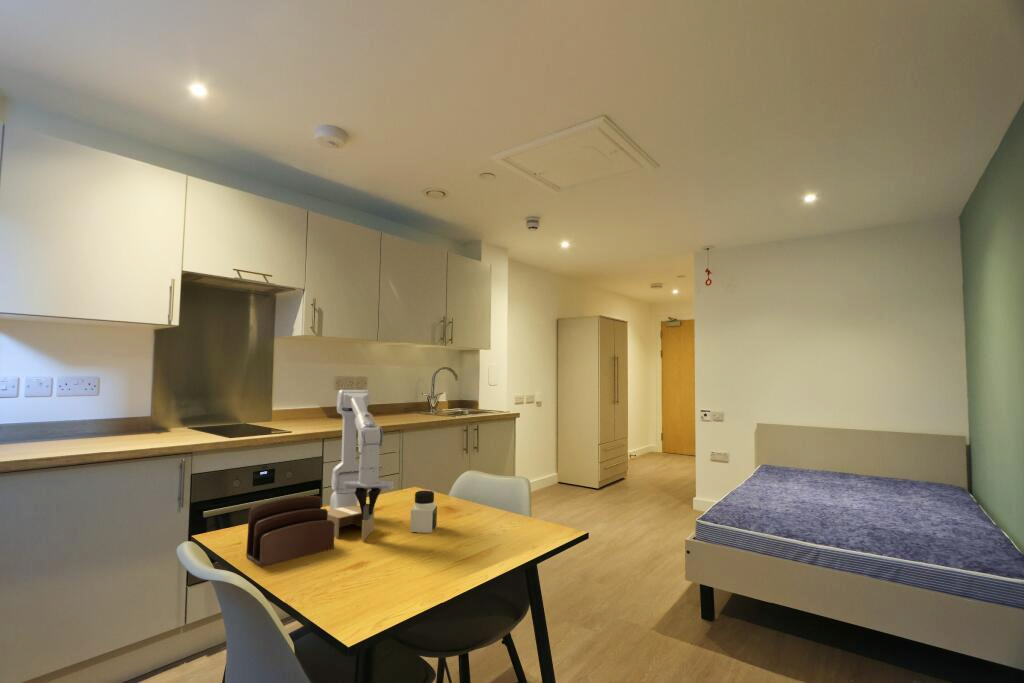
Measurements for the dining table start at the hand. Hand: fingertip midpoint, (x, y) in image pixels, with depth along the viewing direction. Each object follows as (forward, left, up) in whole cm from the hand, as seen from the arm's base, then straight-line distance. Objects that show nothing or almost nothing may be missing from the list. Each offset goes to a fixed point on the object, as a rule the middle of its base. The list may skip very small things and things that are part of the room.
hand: (367, 513), depth 146 cm
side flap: (-2, +3, -7) cm, 8 cm away
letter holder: (-5, -20, -8) cm, 22 cm away
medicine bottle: (+5, +18, -8) cm, 20 cm away
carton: (-12, +1, -7) cm, 14 cm away
